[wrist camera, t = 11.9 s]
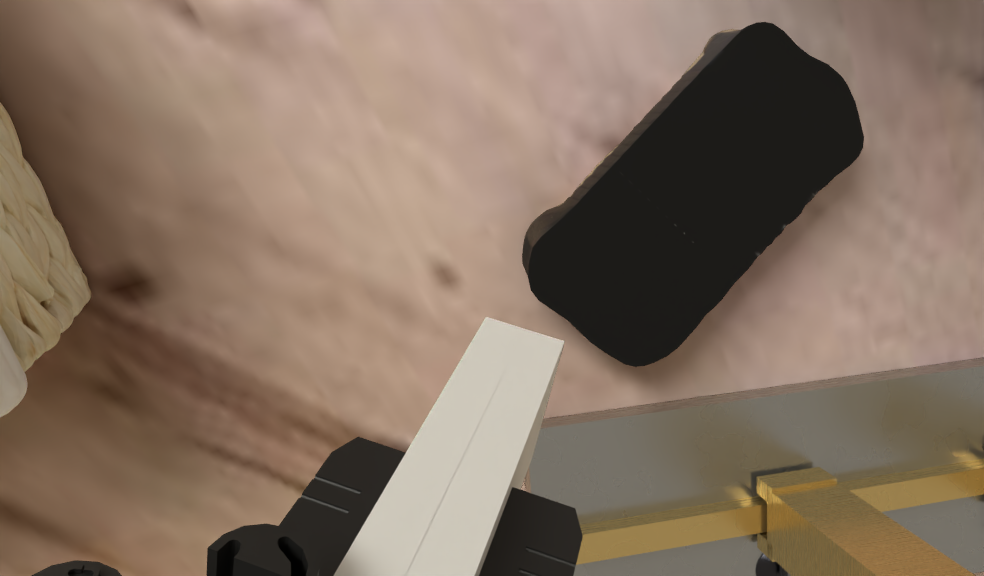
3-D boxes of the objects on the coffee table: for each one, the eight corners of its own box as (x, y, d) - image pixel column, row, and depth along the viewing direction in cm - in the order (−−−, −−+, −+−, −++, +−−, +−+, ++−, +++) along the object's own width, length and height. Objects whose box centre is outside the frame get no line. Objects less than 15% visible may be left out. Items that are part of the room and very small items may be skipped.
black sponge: (614, 368, 41) (642, 389, 38) (496, 253, 39) (514, 264, 36) (838, 132, 41) (886, 131, 38) (734, 4, 39) (775, -10, 36)
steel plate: (521, 422, 40) (527, 431, 39) (1047, 348, 46) (1067, 354, 45) (536, 642, 43) (542, 656, 42) (1036, 547, 48) (1054, 558, 47)
